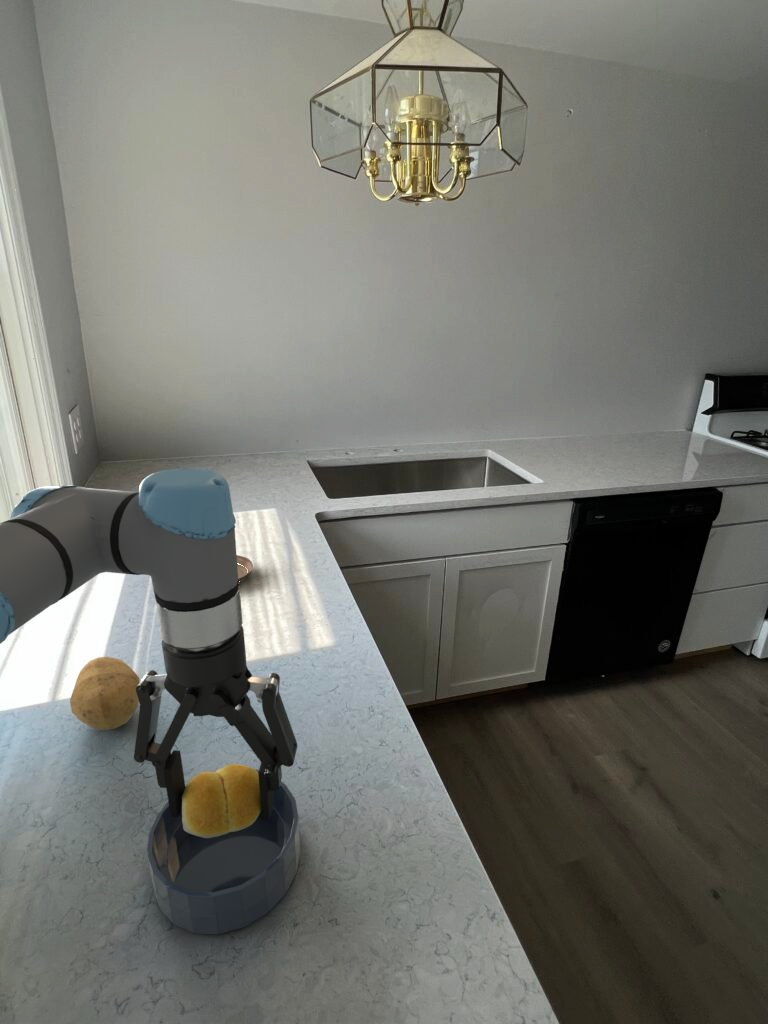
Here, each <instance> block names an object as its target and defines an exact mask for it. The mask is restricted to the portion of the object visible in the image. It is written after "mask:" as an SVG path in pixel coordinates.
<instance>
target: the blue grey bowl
mask: <svg viewBox="0 0 768 1024" xmlns="http://www.w3.org/2000/svg"><path fill="white" fill-rule="evenodd" d="M255 770H256V771H257V772H259V769H255ZM274 798H275V799H274V803H273V807H272V811H271V815H270V819H269V820H262V810H261V812H260V814H259V815H258V817H257V819H256V820H255V822H254V823H253V824H252V825H250V826H249V827H247V828H244V829H242V830H239V831H235V832H229V833H227V834H224V835H221V836H217V837H212V838H203V837H199V836H196V835H192V834H190V833H187V832H186V831H185V830H184V829H183V822H182V808H181V811H180V813H179V815H178V817H171V814H170V808H169V802H168V801H167V802H165V805H164V806H163V807H162V808H161V809H160V810H159V811H158V813H157V815H156V817H155V819H154V821H153V823H152V824H151V827H150V830H149V833H148V838H147V848H146V856H147V861H148V867H149V874H150V879H151V884H152V889H153V893H154V896H155V899H156V903H157V907H158V909H159V911H161V912H162V913H163V915H164V916H165V917H166V918H167V919H168V920H169V921H170V922H171V923H172V924H173V925H174V926H176V927H179V928H181V929H183V930H185V931H188V932H190V933H192V934H203V935H205V934H206V935H219V934H220V935H221V934H224V933H228V932H231V931H235V930H238V929H242V928H245V927H247V926H249V925H250V924H252V923H253V922H255V921H257V920H259V919H260V918H261V917H262V918H263V917H264V916H265V915H267V914H269V912H270V911H271V910H272V909H273V908H274V907H275V906H276V905H277V904H278V903H279V902H280V901H281V899H282V898H283V897H284V896H285V895H286V894H287V892H288V890H289V888H290V886H291V884H292V882H293V880H294V879H295V877H296V875H297V872H298V868H299V867H298V866H299V861H300V856H301V841H300V840H301V839H300V838H301V837H300V819H299V812H298V807H297V800H296V798H295V796H294V795H293V794H292V792H291V790H290V789H289V787H288V785H287V784H286V783H284V782H283V781H281V783H280V787H279V789H278V791H274Z"/></svg>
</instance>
